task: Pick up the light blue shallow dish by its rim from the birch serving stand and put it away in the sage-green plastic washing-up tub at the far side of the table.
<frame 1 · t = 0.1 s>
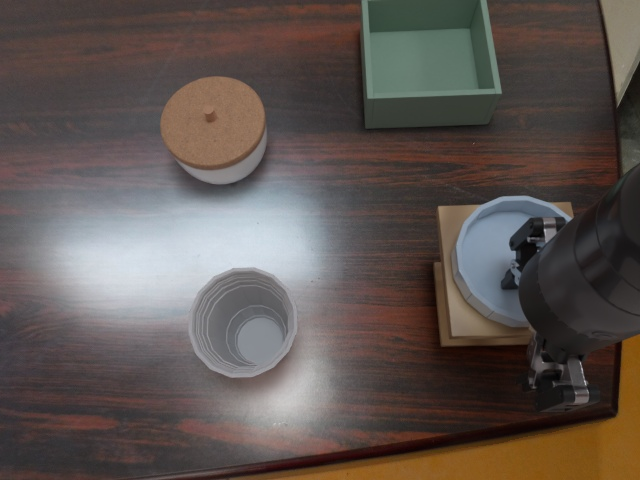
hand: (519, 331, 48), 14 cm above the table, tool pointing down, fingers open, 8 cm apart
tub: (421, 76, 76), on the table
light blue shallow dish: (513, 266, 50), point 14 cm above the table, touching gripper, stand
plastic cup: (260, 342, 63), on the table
lidded bowl: (227, 158, 72), on the table
stand: (478, 303, 64), on the table
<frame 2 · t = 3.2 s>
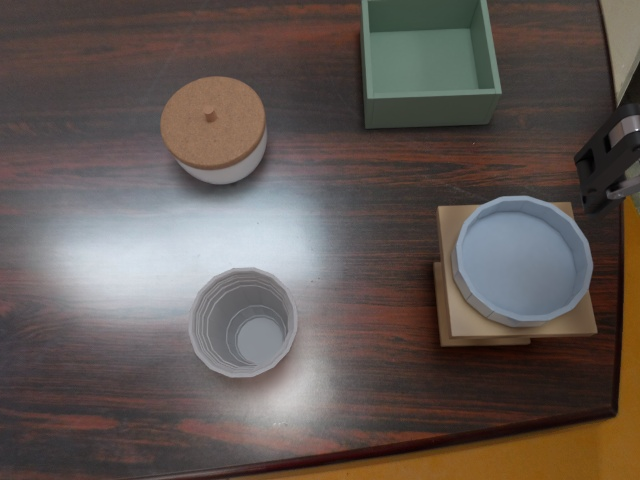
light blue shallow dish: (513, 266, 50), point 14 cm above the table, touching stand
everything else where it was.
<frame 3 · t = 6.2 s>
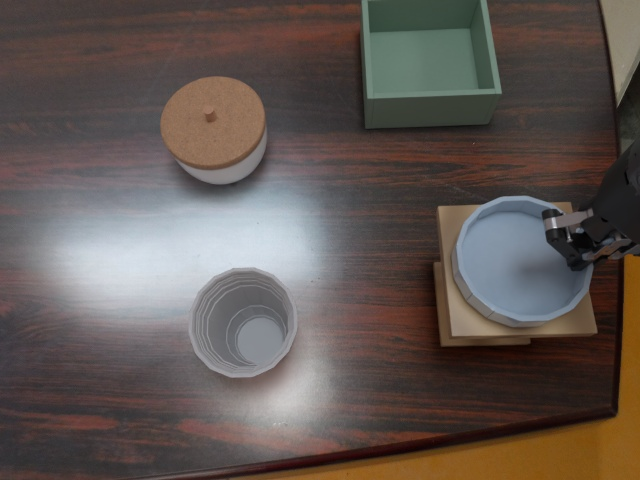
hand: (578, 261, 49), 15 cm above the table, tool pointing down, fingers closed on light blue shallow dish
light blue shallow dish: (514, 266, 50), point 14 cm above the table, touching gripper, stand
everything else where it was.
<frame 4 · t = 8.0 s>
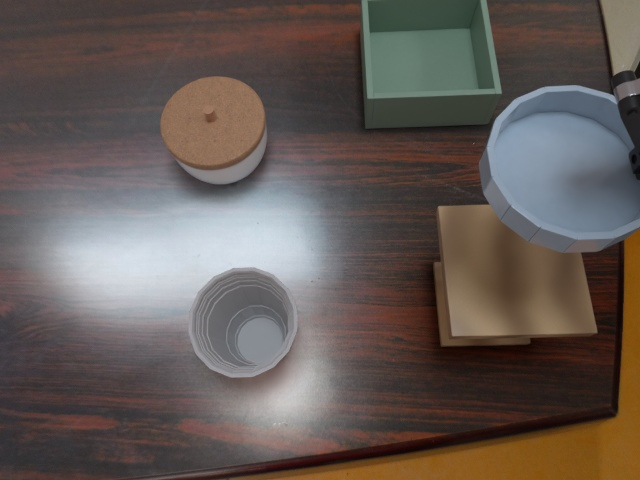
light blue shallow dish: (560, 178, 39), point 27 cm above the table, touching gripper
everything else where it was.
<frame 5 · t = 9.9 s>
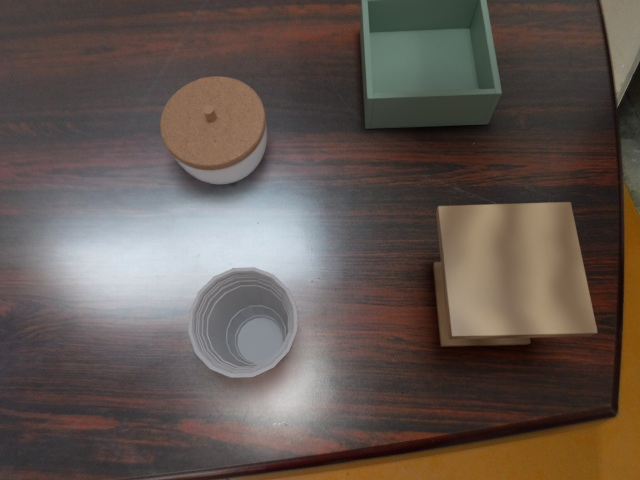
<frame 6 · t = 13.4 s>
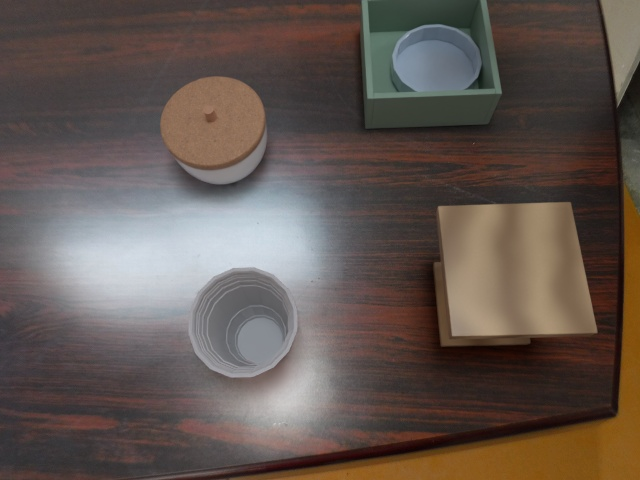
light blue shallow dish: (433, 73, 75), point 1 cm above the table, touching tub
everything else where it was.
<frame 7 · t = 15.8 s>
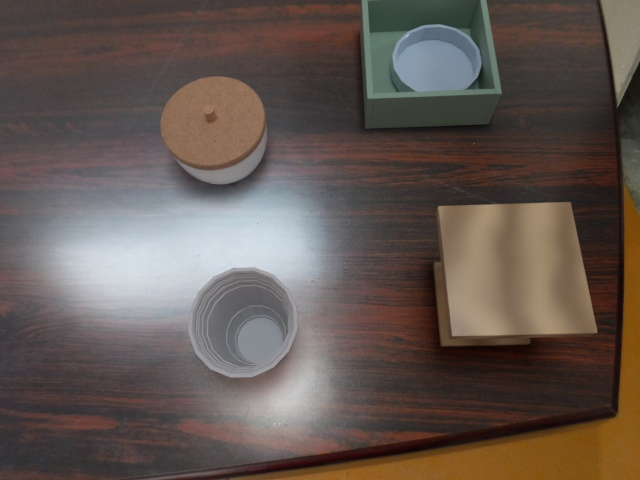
nothing on the table moved.
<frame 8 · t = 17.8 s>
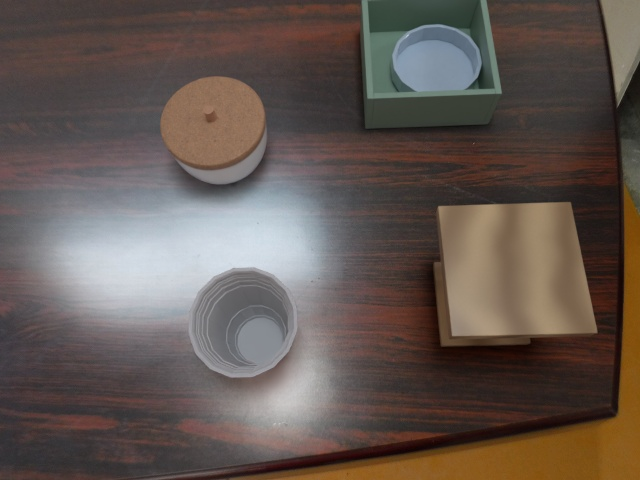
nothing on the table moved.
at the end: light blue shallow dish inside the target area in the tub (1.5 cm from its centre), point 0.8 cm above the tub's base; the gripper is holding nothing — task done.
